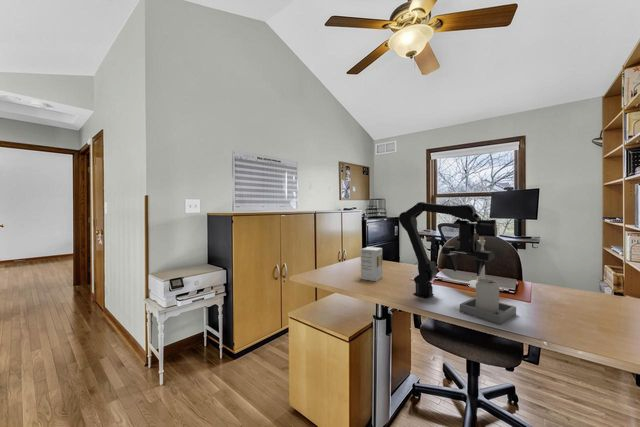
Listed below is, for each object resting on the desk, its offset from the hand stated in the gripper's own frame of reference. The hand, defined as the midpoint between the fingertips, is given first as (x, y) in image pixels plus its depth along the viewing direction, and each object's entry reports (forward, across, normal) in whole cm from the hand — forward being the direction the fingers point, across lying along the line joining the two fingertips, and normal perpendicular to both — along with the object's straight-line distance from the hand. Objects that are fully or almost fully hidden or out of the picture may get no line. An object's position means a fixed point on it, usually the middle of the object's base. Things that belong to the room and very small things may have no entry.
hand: (466, 273), depth 110 cm
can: (+13, -9, +2) cm, 16 cm away
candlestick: (+13, +7, -29) cm, 33 cm away
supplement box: (+13, +50, +3) cm, 52 cm away
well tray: (+13, -9, +2) cm, 16 cm away
